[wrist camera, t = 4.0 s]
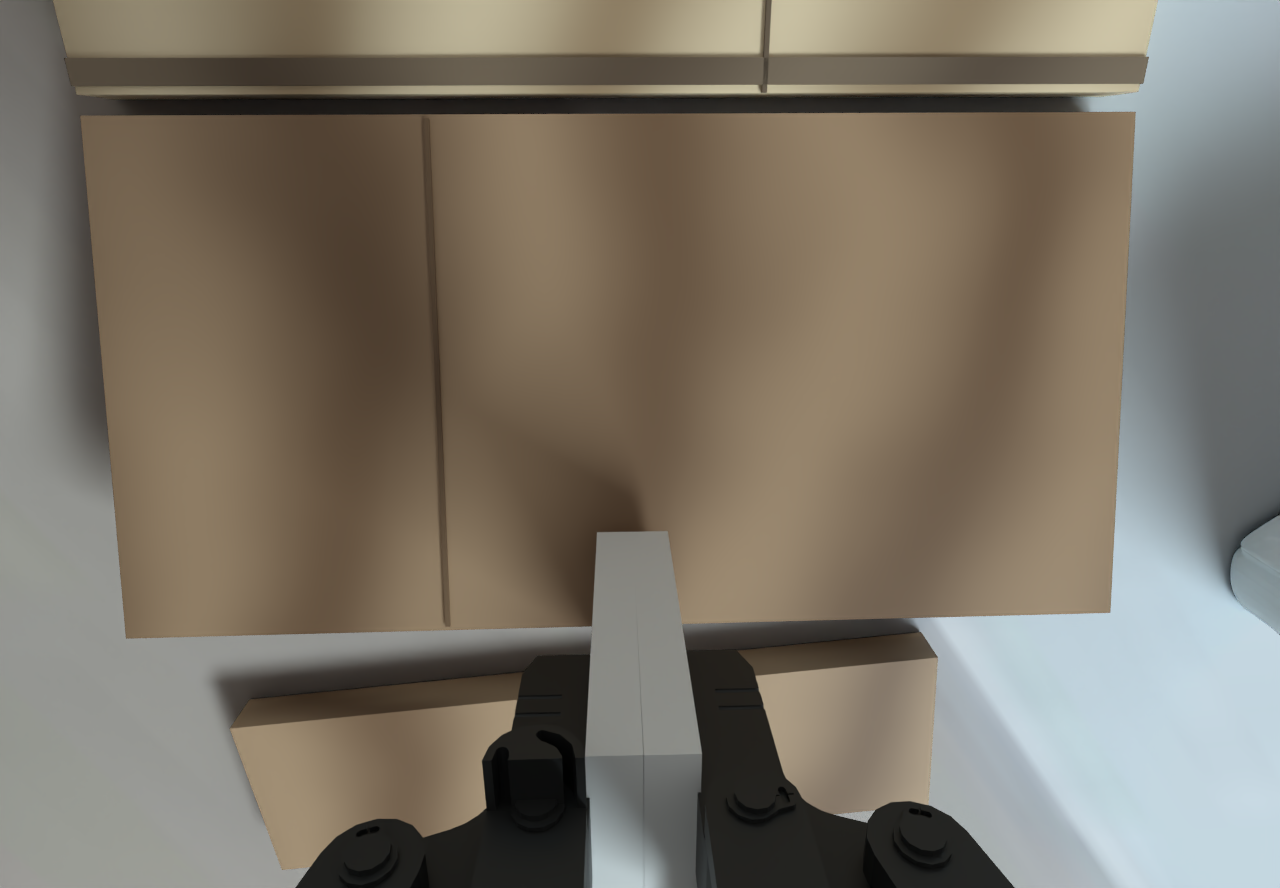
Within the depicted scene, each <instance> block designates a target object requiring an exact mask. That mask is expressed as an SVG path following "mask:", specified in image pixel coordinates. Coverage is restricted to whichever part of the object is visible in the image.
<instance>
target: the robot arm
mask: <svg viewBox="0 0 1280 888" xmlns="http://www.w3.org/2000/svg"><path fill="white" fill-rule="evenodd" d="M482 768H483V778H484V789H485V800H486V809H485V810H484V811H482V812H481V813H480V814H479V815H478V816H476V817H475V818H473V819H471V820H470V821H468V822H467V823H465V824H462V825H460V826H457V827H455V828H452V829H450V830H446V831H443V832H440V833H437V834H433V835H430V836H427V837H422V835H421V834H420V833H419V832H418V831H417V830H416V828H415V827H414V826H413V825H411V824H409V823H406V822H404V821H401V820H399V819H374V820H371V821H368V822H364V823H361V824H357V825H355V826H353V827H352V828H350V829H348V830H347V831H345V832H343V833H342V834H340V835H338V836H337V837H336V838H335V839H334V840H333V841H332V842H331V843H330V844H329V845H328V846H327V847H326V848H325V849H324V850H323V851H322V852H321V853H320V855H319V856H318V857H317V859H316V860H315V861H314V863H313V864H312V866H311V867H310V868H309V870H308V871H307V873H306V874H305V875H304V877H303V878H302V880H301V881H300V882H299V884H298V885H297V886H296V888H1014V887H1013V885H1012V884H1011V883H1010V882H1009V881H1008V879H1007V878H1006V877H1005V876H1004V875H1003V873H1002V872H1001V871H1000V870H999V869H998V868H997V866H996V865H995V864H994V863H993V862H992V860H991V859H990V858H989V857H988V856H987V854H986V853H985V852H984V851H983V850H982V848H981V847H980V846H979V845H978V844H977V843H976V841H975V840H974V839H973V838H972V837H971V835H970V834H969V833H968V832H967V831H966V830H965V829H964V828H963V827H962V826H961V825H960V824H959V823H957V822H956V821H955V820H954V819H953V818H952V817H951V816H949V815H947V814H945V813H943V812H941V811H939V810H938V809H936V808H934V807H932V806H929V805H925V804H920V803H916V802H912V801H902V802H890V803H888V804H886V805H884V806H882V807H880V808H878V809H876V810H875V812H874V813H873V814H872V816H871V817H870V819H869V820H868V823H865V822H861V821H857V820H853V819H849V818H844V817H840V816H836V815H833V814H830V813H827V812H825V811H822V810H820V809H818V808H816V807H814V806H812V805H811V804H809V803H807V802H806V801H805V800H804V799H802V797H801V795H800V793H799V791H798V790H797V788H796V786H794V785H793V784H792V783H791V782H790V781H788V780H787V779H786V777H785V775H784V773H783V770H782V767H781V763H780V760H779V756H778V753H777V749H776V746H775V742H774V739H773V735H772V732H771V728H770V725H769V721H768V718H767V715H766V711H765V709H764V704H763V701H762V697H761V694H760V692H759V687H758V683H757V680H756V676H755V673H754V669H753V667H752V666H751V665H750V664H749V663H748V662H747V661H746V659H745V658H744V657H743V656H742V655H741V654H740V653H739V652H738V651H737V650H699V651H686V647H685V640H684V634H683V627H682V621H681V614H680V608H679V601H678V595H677V589H676V582H675V576H674V569H673V563H672V556H671V550H670V543H669V537H668V531H646V532H597V542H596V561H595V580H594V598H593V617H592V636H591V654H590V655H558V656H537V657H536V658H535V659H534V661H533V662H532V663H531V664H530V665H529V667H528V668H527V669H526V670H525V672H524V673H523V674H522V678H521V683H520V688H519V693H518V700H517V704H516V709H515V717H514V719H513V724H512V730H511V731H509V732H507V733H505V734H503V735H501V736H500V737H499V738H498V739H497V740H496V741H494V742H493V743H492V744H491V745H490V746H489V747H488V749H487V751H486V753H485V755H484V757H483V759H482Z"/></svg>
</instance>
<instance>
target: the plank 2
mask: <svg viewBox="0 0 1280 888" xmlns="http://www.w3.org/2000/svg"><path fill="white" fill-rule="evenodd" d="M738 652H739V653H740V654H741V655H742V656H743V657H744V658H745V659H746V661H747V662H748V663H749V664H750V665H751V666H752V667H753V669H754V673H755V676H756V680H757V683H758V687H759V692H760V694H761V697H762V701H763V704H764V709H765V711H766V715H767V718H768V721H769V725H770V728H771V732H772V735H773V739H774V742H775V746H776V749H777V753H778V756H779V760H780V763H781V767H782V770H783V773H784V775H785V777H786V779H787V780H788V781H790V782H791V783H792V784H793V785H794V786H796V788H797V790H798V791H799V793H800V795H801V797H802V799H804V800H805V801H806V802H807V803H809V804H811V805H812V806H814V807H816V808H818V809H820V810H822V811H825V812H827V813H830V814H842V813H852V812H862V811H871V810H876V809H878V808H880V807H882V806H884V805H886V804H888V803H890V802H902V801H912V802H916V803H920V804H925V805H928V803H929V787H930V772H931V756H932V741H933V725H934V710H935V694H936V679H937V663H938V657H937V656H936V654H935V652H934V651H933V649H932V648H931V646H930V645H929V643H928V642H927V640H926V639H925V637H924V636H923V634H922V633H921V632H917V633H907V634H898V635H888V636H878V637H868V638H858V639H848V640H838V641H828V642H818V643H808V644H798V645H788V646H778V647H768V648H758V649H748V650H738ZM523 673H524V672H519V673H509V674H499V675H489V676H479V677H469V678H459V679H449V680H439V681H429V682H419V683H409V684H399V685H390V686H380V687H370V688H360V689H350V690H340V691H330V692H320V693H310V694H300V695H290V696H280V697H270V698H260V699H250V700H249V701H248V702H247V704H246V705H245V707H244V708H243V710H242V711H241V713H240V714H239V716H238V717H237V719H236V720H235V722H234V723H233V725H232V726H231V728H230V731H231V733H232V736H233V739H234V742H235V744H236V747H237V750H238V752H239V755H240V758H241V760H242V763H243V766H244V768H245V771H246V774H247V777H248V779H249V782H250V785H251V787H252V790H253V793H254V795H255V798H256V801H257V804H258V806H259V809H260V812H261V814H262V817H263V820H264V822H265V825H266V828H267V831H268V833H269V836H270V839H271V841H272V844H273V847H274V849H275V852H276V855H277V858H278V860H279V863H280V866H281V868H282V870H286V869H296V868H306V867H311V866H312V864H313V863H314V861H315V860H316V859H317V857H318V856H319V855H320V853H321V852H322V851H323V850H324V849H325V848H326V847H327V846H328V845H329V844H330V843H331V842H332V841H333V840H334V839H335V838H336V837H337V836H338V835H340V834H342V833H343V832H345V831H347V830H348V829H350V828H352V827H353V826H355V825H357V824H361V823H364V822H368V821H371V820H374V819H399V820H401V821H404V822H406V823H409V824H411V825H413V826H414V827H415V828H416V830H417V831H418V832H419V833H420V834H421V835H422V837H427V836H430V835H433V834H437V833H440V832H443V831H446V830H450V829H452V828H455V827H457V826H460V825H462V824H465V823H467V822H468V821H470V820H471V819H473V818H475V817H476V816H478V815H479V814H480V813H481V812H482V811H484V810H485V809H486V800H485V789H484V778H483V768H482V759H483V757H484V755H485V753H486V751H487V749H488V747H489V746H490V745H491V744H492V743H493V742H494V741H496V740H497V739H498V738H499V737H500V736H501V735H503V734H505V733H507V732H509V731H511V730H512V724H513V719H514V717H515V709H516V704H517V700H518V693H519V688H520V683H521V678H522V674H523Z"/></svg>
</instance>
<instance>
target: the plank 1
mask: <svg viewBox="0 0 1280 888" xmlns="http://www.w3.org/2000/svg"><path fill="white" fill-rule="evenodd" d="M1135 113H1136V112H974V113H690V114H405V115H121V116H80V118H81V130H82V141H83V152H84V164H85V175H86V187H87V198H88V210H89V221H90V232H91V244H92V255H93V267H94V278H95V290H96V301H97V312H98V324H99V335H100V347H101V358H102V370H103V381H104V392H105V404H106V415H107V427H108V438H109V450H110V461H111V472H112V484H113V495H114V507H115V518H116V529H117V541H118V552H119V564H120V575H121V587H122V598H123V609H124V621H125V632H126V638H163V637H201V636H240V635H278V634H316V633H354V632H392V631H430V630H468V629H507V628H545V627H583V626H592V617H593V598H594V580H595V561H596V542H597V532H646V531H668V537H669V543H670V550H671V556H672V563H673V569H674V576H675V582H676V589H677V595H678V601H679V608H680V614H681V621H682V624H697V623H735V622H774V621H812V620H850V619H888V618H926V617H964V616H1002V615H1041V614H1079V613H1110V607H1111V587H1112V568H1113V548H1114V528H1115V508H1116V488H1117V469H1118V449H1119V429H1120V409H1121V390H1122V370H1123V350H1124V330H1125V310H1126V291H1127V271H1128V251H1129V231H1130V212H1131V192H1132V172H1133V152H1134V132H1135Z"/></svg>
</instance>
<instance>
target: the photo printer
mask: <svg viewBox="0 0 1280 888" xmlns="http://www.w3.org/2000/svg"><path fill="white" fill-rule="evenodd" d="M1230 576H1231V586H1232V589H1233V592H1234V594H1235V596H1236V598H1237V600H1238V601H1239V603H1240V604H1241V605H1242V606H1243V607H1244V608H1245V609H1246V610H1248V611H1249V612H1251V613H1252V614H1253V615H1255V616H1256V617H1257V618H1259V619H1260V620H1261V621H1263V622H1264V623H1265V624H1267V625H1268V626H1270V627H1271V628H1272V629H1274V630H1275V631H1276V632H1277V633H1278V634H1279V635H1280V515H1278V516H1277V517H1275V518H1273V519H1272V520H1270V521H1268V522H1267V523H1265V524H1264V525H1262V526H1261V527H1259V528H1258V529H1256V530H1255V531H1253V532H1252V533H1250V534H1249V535H1248V536H1246V537H1245V538H1244V539H1243V540H1242V542H1241V547H1240V548H1239V549H1238V550H1236V552H1235V554H1234V556H1233V559H1232V563H1231V570H1230Z"/></svg>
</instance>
